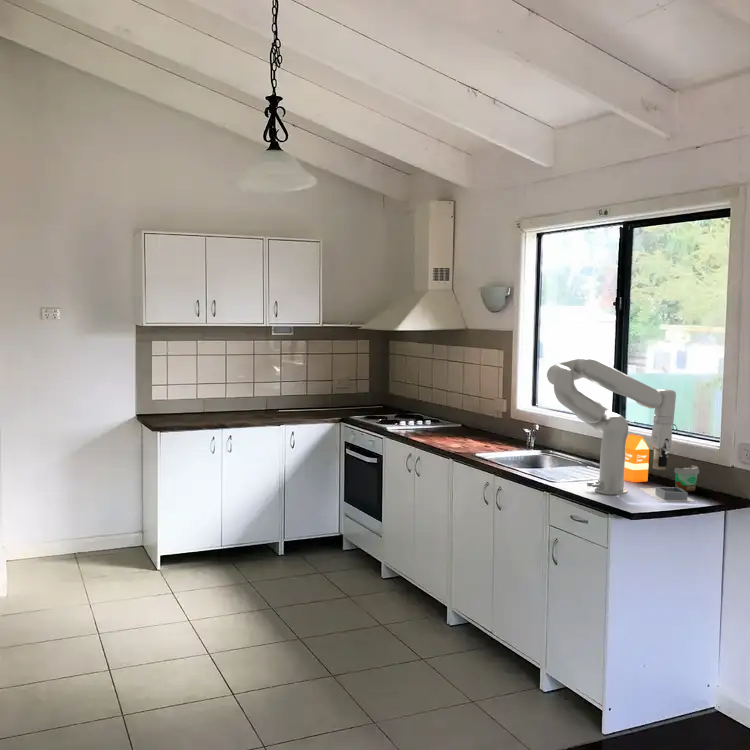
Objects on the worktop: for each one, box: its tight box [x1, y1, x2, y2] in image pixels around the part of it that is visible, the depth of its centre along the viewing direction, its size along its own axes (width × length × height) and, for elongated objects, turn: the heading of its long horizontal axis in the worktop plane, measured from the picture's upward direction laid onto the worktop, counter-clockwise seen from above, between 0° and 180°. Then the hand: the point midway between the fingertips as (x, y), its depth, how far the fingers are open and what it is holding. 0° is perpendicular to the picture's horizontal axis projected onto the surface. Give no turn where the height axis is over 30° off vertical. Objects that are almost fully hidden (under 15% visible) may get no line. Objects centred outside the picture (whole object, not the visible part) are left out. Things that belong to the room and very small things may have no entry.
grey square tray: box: [655, 486, 689, 500], centre depth 321 cm, size 9×9×3 cm
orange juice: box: [624, 433, 650, 483], centre depth 353 cm, size 8×9×20 cm
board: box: [638, 487, 695, 502], centre depth 326 cm, size 14×22×1 cm, turn 2°
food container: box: [673, 464, 700, 492], centre depth 335 cm, size 12×6×10 cm, turn 126°
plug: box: [652, 447, 667, 471], centre depth 331 cm, size 5×5×8 cm
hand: (659, 464), depth 331 cm, fingers closed on plug, 5 cm apart
